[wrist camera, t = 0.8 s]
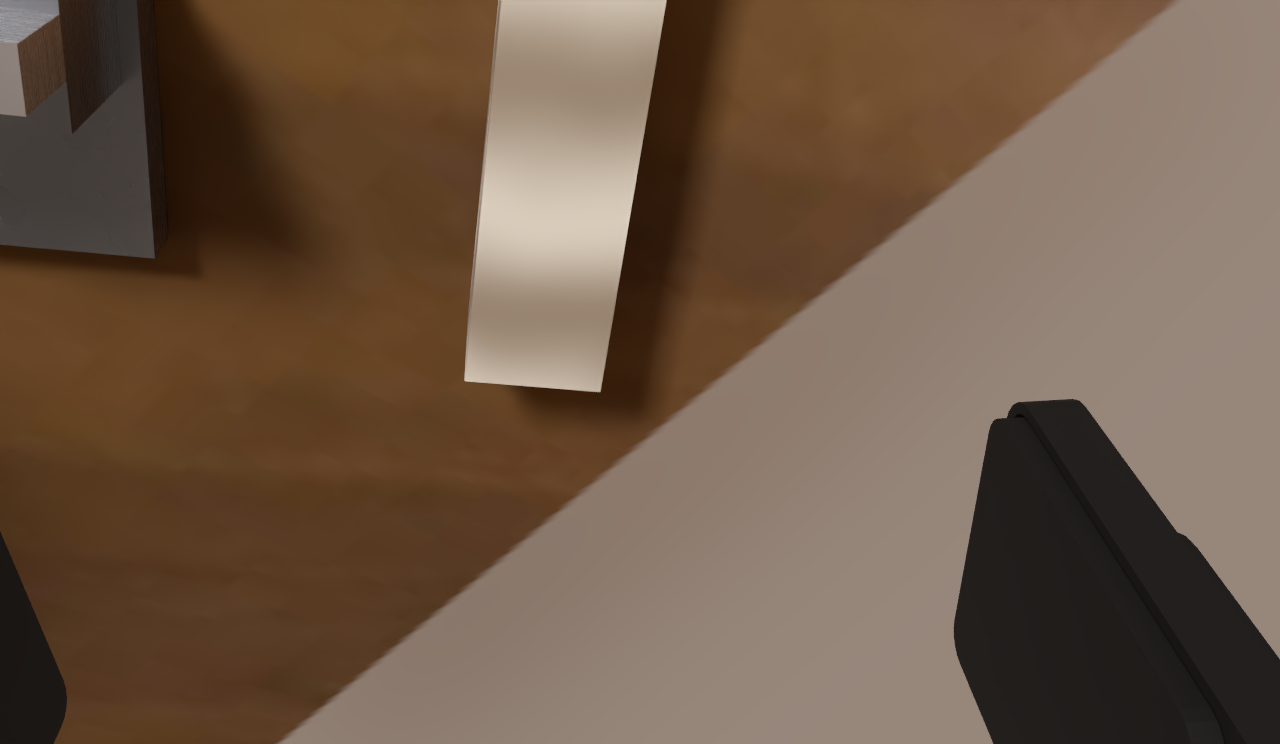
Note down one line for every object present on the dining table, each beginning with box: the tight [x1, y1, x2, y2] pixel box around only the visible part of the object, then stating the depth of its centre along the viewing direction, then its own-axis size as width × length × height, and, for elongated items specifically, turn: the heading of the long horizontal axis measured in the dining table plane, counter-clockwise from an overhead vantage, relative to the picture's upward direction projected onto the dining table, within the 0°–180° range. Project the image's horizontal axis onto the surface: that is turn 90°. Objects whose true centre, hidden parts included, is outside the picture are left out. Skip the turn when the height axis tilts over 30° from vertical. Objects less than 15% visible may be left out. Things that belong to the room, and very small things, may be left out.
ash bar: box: [464, 0, 667, 392], centre depth 30 cm, size 18×4×4 cm, turn 171°
